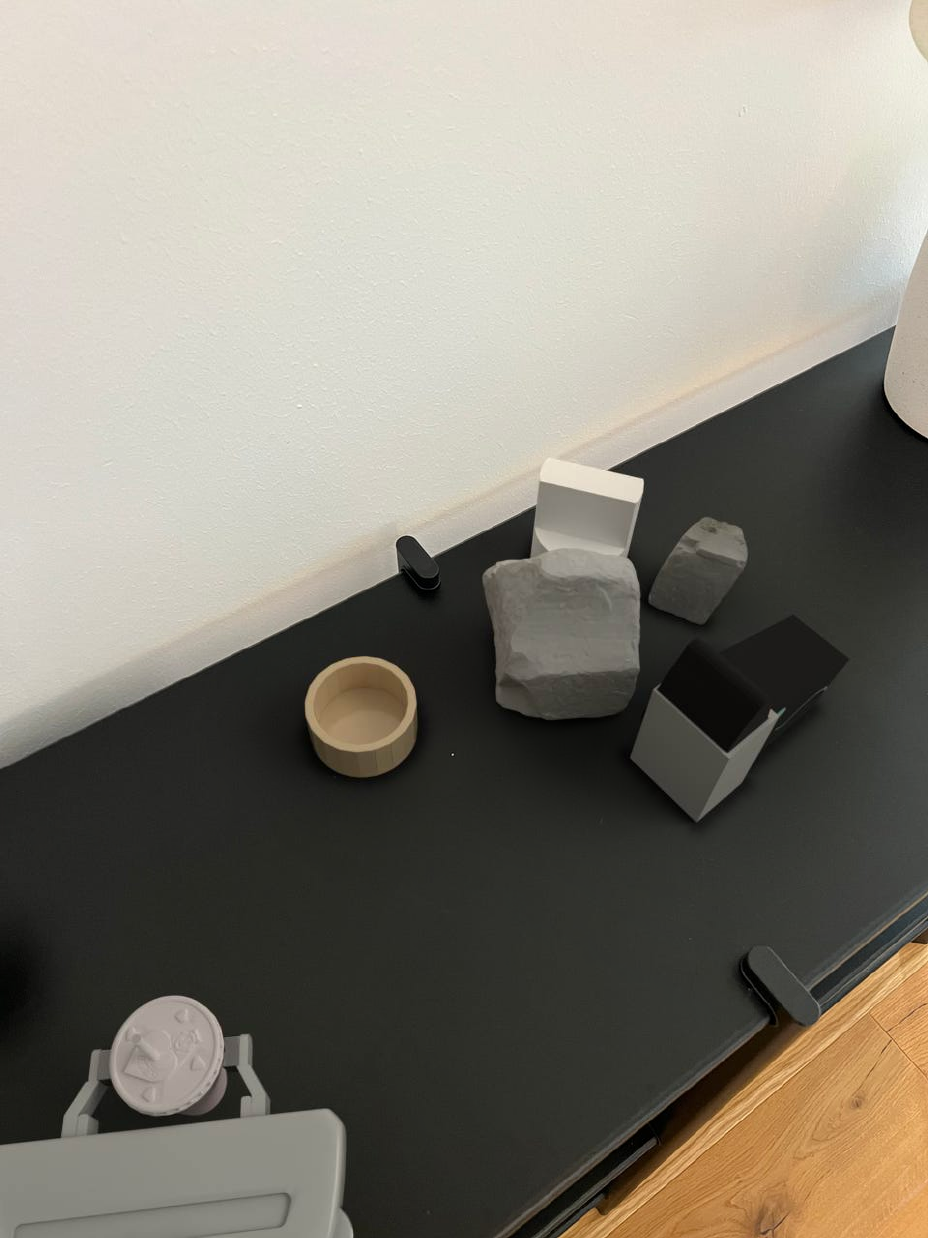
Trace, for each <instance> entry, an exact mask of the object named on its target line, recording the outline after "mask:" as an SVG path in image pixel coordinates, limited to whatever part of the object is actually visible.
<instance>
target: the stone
mask: <svg viewBox="0 0 928 1238" xmlns="http://www.w3.org/2000/svg"><path fill="white" fill-rule="evenodd" d="M637 574H638V573H637V570H636V568H635V565H634V563H633V562H632V561H631V560H630V559H629V558H628V557H627V558H624V557H620V556H616V555H603V554H601V553H597V552H593V551H588V550H582V549H578V548H560V549H556V550H552V551H549V552H546V553H543V554H540V555H539V556H537V557H535V558H530V557H529V558H523V559H505V560H501V561H496V562H495V564H494V565H493V566H491V567H489V568H487V569H486V570H485V571H484V573H482V576H481V578H482V579H481V580H482V586H483V590H484V597H485V599H486V605H487V608H488V612H489V616H490V619H491V622H492V629H493V633H494V636H493V642H494V643H493V645H494V647H495V671H494V672H495V679H496V680H495V681H496V682H495V701H496V703H498V705H500V706H501V707H502V708H503V709H507V710H511V711H515V712H519V713H520V714H522V715H524V716H526V717H531V718H532V717H533V718H542V719H544V720H546V721H555V720H568V719H569V720H570V719H579V718H587V719H588V718H591V719H592V718H602V717H607V716H612V715H617V714H619V713H621V712H623V711H624V710H625V709H627V707H628V704H629V702H631V700H632V698H633V697H634V694H635V691H636V683H637V682H638V675H639V674H640V671H641V667H640V654H639V645H640V638H641V633H640V632H641V626H640V625H641V624H640V619H641V617H640V616H641V615H640V612H641V611H640V610H641V599H640V598H641V589H640V582H639V580H638V575H637Z"/></svg>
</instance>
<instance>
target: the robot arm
mask: <svg viewBox="0 0 928 1238" xmlns="http://www.w3.org/2000/svg"><path fill="white" fill-rule="evenodd" d="M223 1040H224V1054H223V1063H222V1067H223V1068H224V1069H225V1070H226V1074H229V1073H239V1075H240V1076H241V1078H242V1081H243V1082H244V1084H245V1086H246V1088H247V1090H248V1092H249V1093H250V1095H251V1096H250V1095H245V1096H242V1097H241V1098H240V1113H239V1114H240V1117H235V1118H227V1119H219V1120H210V1121H209V1120H208V1121H201V1122H192V1123H183V1124H174V1125H166V1126H165V1125H164V1126H156V1127H148V1128H141V1129H140V1128H138V1129H131V1130H130V1129H129V1130H121V1131H112V1132H111V1131H110V1132H105V1133H104V1132H102V1133H99V1126H100V1125H99V1124H100V1121H99V1120H98V1119H97V1118H94V1117H93V1114H94V1113H95V1110H96V1109H97V1107H98V1106H99V1103H100V1102H101V1100H102V1098H103V1096H104V1095H105V1093H106V1091H107V1089H108V1088H109V1087H111V1086H114V1085H113V1083H112V1080H111V1075H110V1068H109V1061H110V1053H111V1048H112V1047H109V1048H108V1047H107V1048H99V1049H93V1050H92V1052H91V1054H90V1062H89V1070H88V1071H89V1072H88V1079H87V1081H85V1082H84V1084H83V1085H82V1087H81V1088H80V1090H79V1091H78V1093H77V1095H76V1096H75V1098H74V1099H73V1101H72V1102H71V1104H70V1105H69V1107H68V1109H67V1110H66V1111H65V1113H64V1115H63V1117H62V1118H63V1119H62V1127H61V1135H60V1138H50V1139H49V1138H48V1139H42V1140H32V1141H23V1142H14V1143H6V1144H0V1238H355V1229H354V1224H353V1221H352V1219H351V1216H350V1215H349V1213H348V1211H346V1209H344V1207H343V1205H344V1195H345V1186H346V1169H347V1130H346V1126H345V1124H344V1122H343V1121H342V1120H341V1119H340V1117H339V1116H338V1115H337V1114H335V1113H336V1112H334V1111H332V1110H331V1109H330V1108H317V1109H307V1110H298V1111H290V1112H281V1113H280V1112H279V1113H272V1114H271V1098H270V1097H269V1095H268V1093H267V1092H266V1091H267V1090H265V1088H264V1086H263V1084H262V1082H261V1081H260V1078H259V1077H258V1075H257V1073H256V1071H255V1070H254V1068H253V1047H254V1045H253V1038H252V1036H251V1035H250V1033H241V1034H234V1035H226V1036H223Z"/></svg>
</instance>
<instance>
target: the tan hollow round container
mask: <svg viewBox="0 0 928 1238" xmlns="http://www.w3.org/2000/svg"><path fill="white" fill-rule="evenodd" d="M417 706H418V703H417V696H416V690H415V687H414V684H413V683H412V682H411V679H410V677H409V676H408V675H407V674H406V673H405V672H404V671H403V670H402V669H401V668H400V667H398V665H395V664H394V663H391V662H389V661H388V660H385V659H383V658H380V657H373V656H367V655H365V656H364V655H363V656H354V657H348V658H344V659H342V660H339V661H337V662H334V663H332V664H330V665H329V666H327V667H326V668H325V669H323V670H322V671H321V672H319V673H318V674H317V675H316V677H315V679H314V680H313V681H312V683H311V684H310V685H309V687H308V690H307V693H306V696H305V700H304V713H305V714H304V715H305V719H306V720H305V721H306V725H307V728H308V733H309V737H310V741H311V743H312V747H313V749H314V752H315V753H316V755H317V757H318V758H319V759H320V760H321V762H322V763H323V764H325V765H326V766H327V767H328V768H330V769H331V770H332V771H334V772H336V773H338V774H340V775H344V776H348V777H353V778H369V777H376V776H379V775H380V776H381V775H383V774H385V773H387V772H390V771H391V770H393V769H395V768H396V767H397V766H399V765H400V764H402V762H403V761H404V760H405V759H406V758H407V757H408V756H409V754H410V753H411V751H412V749H413V748H414V746H415V743H416V740H417V737H418V736H417V735H418V707H417Z"/></svg>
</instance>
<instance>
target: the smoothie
mask: <svg viewBox="0 0 928 1238" xmlns="http://www.w3.org/2000/svg"><path fill="white" fill-rule="evenodd" d="M110 1048H111V1053H110V1061H109V1068H110V1075H111V1080H112V1083H113V1085H112V1086H113V1088H114V1090H115V1092H116V1093H117V1095H118V1096H119V1097H120V1098H121V1100H123V1101H124V1103H125V1104H126V1105H128V1107H130V1108H131V1109H133V1110H135V1111H136V1112H138V1113H140V1114H142V1115H148V1116H151V1117H162V1116H171V1115H174V1114H179V1115H186V1116H201V1115H204V1114H207V1113H208V1112H210V1111H212V1110H213V1109H215V1107H216V1106H218V1104H219V1103H220V1102H221V1100H222V1099H223V1098H224V1096H225V1093H226V1089H227V1086H228V1074H227V1071H226V1069H224V1068H223V1067H222V1063H223V1054H224V1052H225V1049H224V1035H223V1031H222V1027H221V1025H220V1023H219V1022H218V1019H217V1018H216V1016H215V1015H214V1013H213V1012H211V1010H209V1009H208V1007H206V1006H205V1005H204V1004H202V1003H201V1002H200V1001H198V1000H195V999H193V998H191V997H187V996H183V995H165V996H161V997H158V998H154V999H152V1000H150V1001H148V1002H146V1003H144V1004H143V1005H142V1006H139V1007H138V1008H137V1009H136V1010H135V1011H134V1012H132V1013H131V1014H130V1015H129V1016H128V1017H127V1019H125V1020H124V1022H123V1023H122V1025H121V1026H120V1028H119V1030H118V1031H117V1033H116V1035H115V1037H114V1040H113V1041H112V1045H111V1047H110Z"/></svg>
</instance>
